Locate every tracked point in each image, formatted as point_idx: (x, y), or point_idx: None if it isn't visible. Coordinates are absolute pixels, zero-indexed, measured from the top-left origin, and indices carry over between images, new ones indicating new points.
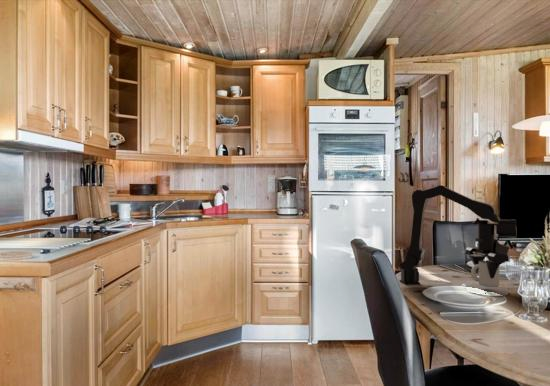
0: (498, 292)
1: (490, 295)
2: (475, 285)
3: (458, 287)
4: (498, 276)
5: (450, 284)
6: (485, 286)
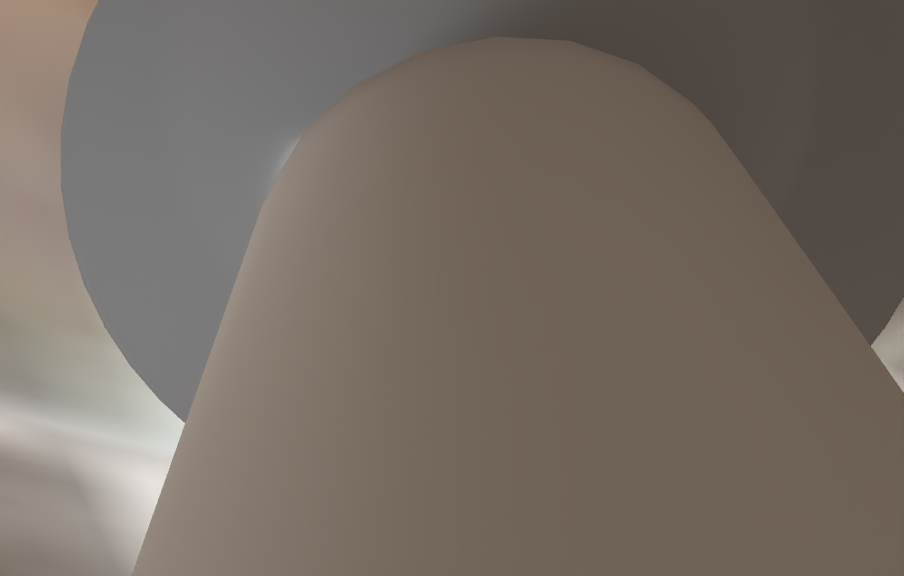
0: (823, 140)
1: None
2: (187, 339)
3: None
4: (816, 275)
5: (61, 564)
6: (245, 186)
